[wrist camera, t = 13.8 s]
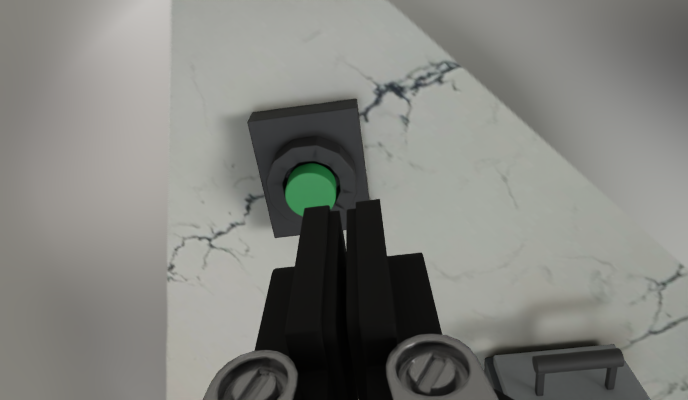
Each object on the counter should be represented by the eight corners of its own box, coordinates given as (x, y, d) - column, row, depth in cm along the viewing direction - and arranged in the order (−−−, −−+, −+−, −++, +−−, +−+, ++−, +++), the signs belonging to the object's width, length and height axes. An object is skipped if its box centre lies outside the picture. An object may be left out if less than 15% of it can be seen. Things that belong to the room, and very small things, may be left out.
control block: (252, 112, 38) (242, 130, 34) (356, 98, 37) (357, 115, 33) (278, 224, 42) (271, 250, 39) (371, 213, 42) (373, 239, 38)
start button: (283, 165, 36) (280, 176, 34) (332, 159, 35) (331, 169, 34) (292, 209, 37) (290, 220, 36) (339, 203, 37) (339, 215, 36)
